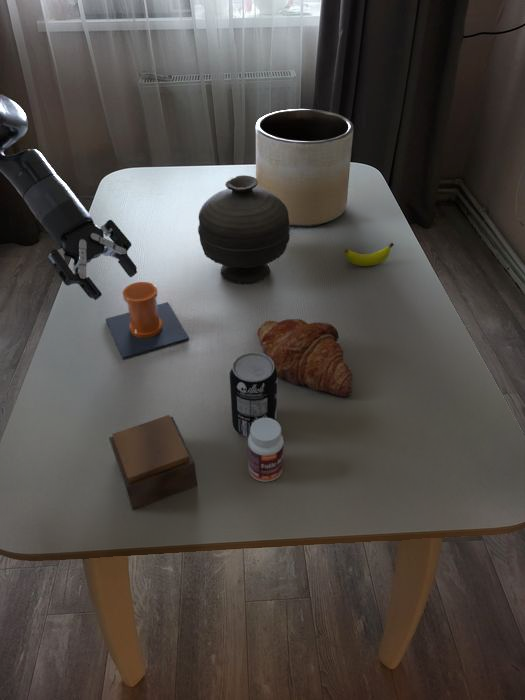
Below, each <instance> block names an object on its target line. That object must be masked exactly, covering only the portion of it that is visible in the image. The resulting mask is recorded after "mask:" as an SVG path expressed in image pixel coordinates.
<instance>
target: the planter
mask: <svg viewBox="0 0 525 700" xmlns="http://www.w3.org/2000/svg"><path fill="white" fill-rule="evenodd" d="M353 139H354V124H353V122H352V121H350V119H348V118H347V117H344V116H343V115H340V114H338V113H334V112H331V111H326V110H320V109H307V108H298V109H297V108H296V109H295V108H294V109H286V110H279V111H274V112H272V113H268V114H266V115H264V116H262V117H260V118H259V119H258V120H257V122H256V124H255V178H256V179H257V181H258V184H257V186H256V187H257V188H262V189H265V190H267V191H269V192H270V193H272V194H274V195H275V196H277V197H278V198H279V199H280V200H281V201H282V202H283V203H284V204H285V206H286V208H287V210H288V217H289V226H292V227H313V226H320V225H323V224H326V223H330V222H331V221H333V220H335V219H337V218H338V217H340V216H341V215H343V213H344V212H345V210H346V208H347V203H348V196H349V195H348V194H349V183H350V172H351V171H350V169H351V158H352V147H353Z"/></svg>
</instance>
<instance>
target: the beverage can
mask: <svg viewBox="0 0 525 700" xmlns="http://www.w3.org/2000/svg"><path fill="white" fill-rule="evenodd" d="M229 388H230V404H231V405H230V407H231V423H232V427H233V429H234V431H235V432H236V433H237V434H238V435H240V436H241V437H244V438H246V439H248V437H249V435H250V428H251V425H252V423H253V422H254V421H256V420H257V419H260V418H271V419H274V420H276V421H277V417H278V416H277V413H278V411H277V410H278V409H277V408H278V378H277V370H276V368H275V367H274V363H273V361H272V359H271V358H270V357H268V356H267V355H266V354H265V353H261V352H256V351H255V352H251V351H250V352H245V353H243V354H241V355H240V354H239V356H237V357H236V358H235V359H234V360H233V362H232V366H231V369H230V371H229Z"/></svg>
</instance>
